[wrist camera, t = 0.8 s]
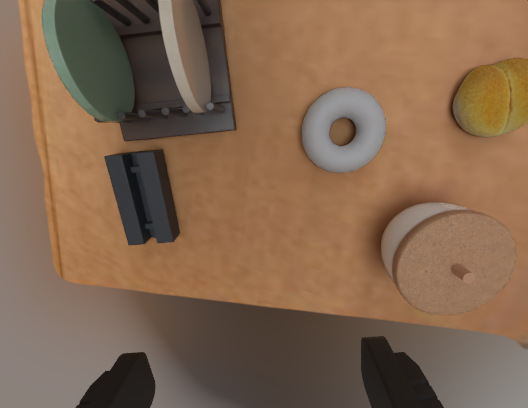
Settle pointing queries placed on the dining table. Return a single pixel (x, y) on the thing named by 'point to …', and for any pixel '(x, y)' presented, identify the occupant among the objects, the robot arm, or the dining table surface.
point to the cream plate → (186, 52)
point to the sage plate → (89, 57)
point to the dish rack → (168, 72)
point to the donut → (366, 122)
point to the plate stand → (143, 196)
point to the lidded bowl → (447, 257)
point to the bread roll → (493, 98)
